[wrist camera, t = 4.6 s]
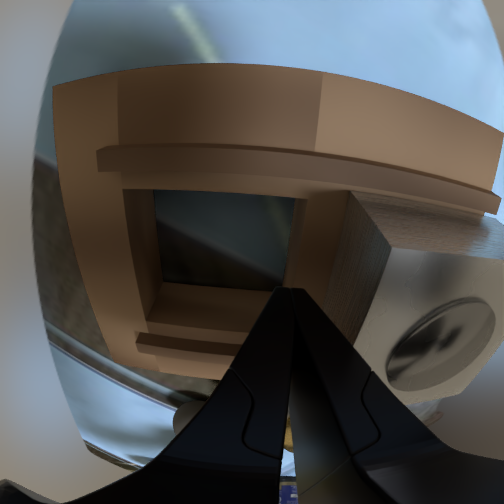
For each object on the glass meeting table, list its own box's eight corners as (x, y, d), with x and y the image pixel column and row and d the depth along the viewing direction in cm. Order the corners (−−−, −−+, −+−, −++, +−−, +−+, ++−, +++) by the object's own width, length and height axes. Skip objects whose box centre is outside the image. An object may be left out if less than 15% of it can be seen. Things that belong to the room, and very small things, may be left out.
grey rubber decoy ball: (226, 416, 19) (222, 456, 16) (181, 410, 19) (173, 449, 16) (226, 394, 17) (221, 441, 14) (174, 388, 17) (163, 432, 14)
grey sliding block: (436, 340, 10) (461, 396, 8) (310, 344, 10) (319, 417, 8) (495, 218, 7) (549, 268, 4) (350, 190, 7) (394, 252, 5)
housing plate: (386, 344, 14) (400, 389, 11) (130, 327, 14) (110, 371, 11) (463, 120, 8) (515, 137, 5) (94, 82, 8) (40, 88, 5)
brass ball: (318, 419, 19) (321, 458, 16) (273, 419, 19) (272, 459, 16) (330, 398, 17) (336, 442, 14) (279, 398, 17) (280, 444, 14)
